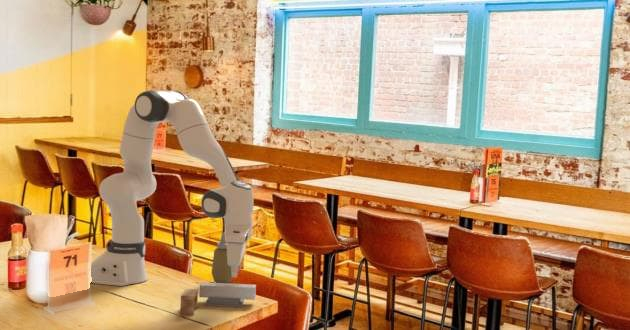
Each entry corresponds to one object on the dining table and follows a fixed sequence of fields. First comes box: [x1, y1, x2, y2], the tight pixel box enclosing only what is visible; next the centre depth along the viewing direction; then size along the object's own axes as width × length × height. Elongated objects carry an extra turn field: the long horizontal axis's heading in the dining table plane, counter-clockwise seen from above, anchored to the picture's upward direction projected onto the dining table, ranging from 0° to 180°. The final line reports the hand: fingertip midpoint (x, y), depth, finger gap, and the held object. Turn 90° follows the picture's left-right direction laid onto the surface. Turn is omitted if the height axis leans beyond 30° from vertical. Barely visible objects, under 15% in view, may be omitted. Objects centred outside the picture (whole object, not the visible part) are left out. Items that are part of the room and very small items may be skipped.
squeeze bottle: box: [211, 232, 233, 284], centre depth 269 cm, size 8×8×18 cm
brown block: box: [179, 288, 199, 316], centre depth 235 cm, size 4×8×6 cm, turn 0°
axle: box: [198, 281, 257, 301], centre depth 245 cm, size 18×4×4 cm, turn 89°
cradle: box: [204, 298, 245, 308], centre depth 245 cm, size 12×8×2 cm, turn 90°
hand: (235, 272), depth 244 cm, fingers open, 8 cm apart
